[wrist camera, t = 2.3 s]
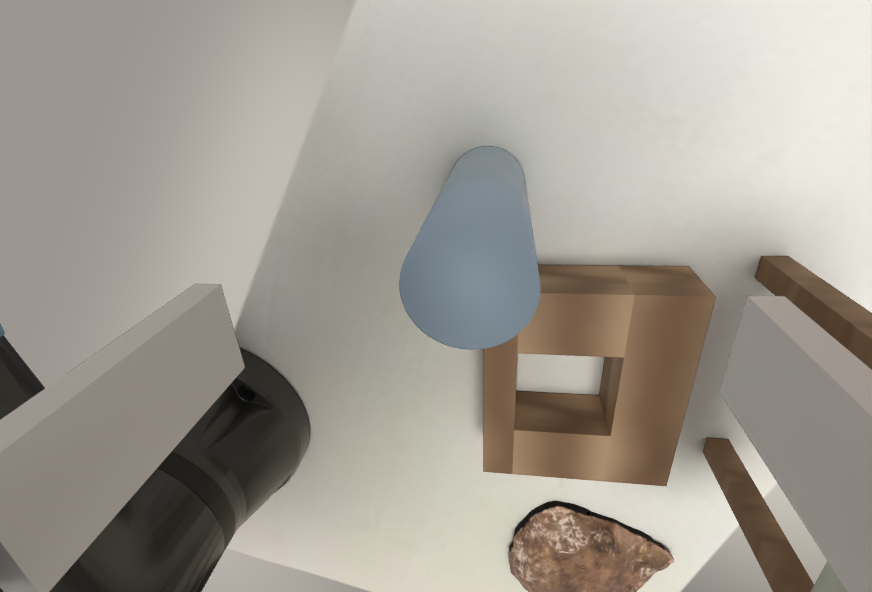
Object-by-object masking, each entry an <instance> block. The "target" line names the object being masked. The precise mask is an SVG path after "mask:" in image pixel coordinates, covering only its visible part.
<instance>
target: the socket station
mask: <svg viewBox="0 0 872 592" xmlns="http://www.w3.org/2000/svg"><path fill="white" fill-rule="evenodd" d="M538 271H539V278H540V299H539V303H538V306H537V309H536V311H535V314H534V316H533V317H532V319H531V320H530V322H529V323H528V324H527V326H526V327H525V328H524V329H523V330H522V331H521V332H520V333H519V334H517V335H516V336H515V337H513V338H512V339H510V340H508V341H506V342H504V343H502V344H500V345H497V346H494V347H490V348H485V349H483V472H494V473H506V474H519V475H532V476H544V477H557V478H569V479H582V480H595V481H607V482H620V483H632V484H645V485H657V486H667V482H668V478H669V474H670V470H671V466H672V463H673V459H674V455H675V451H676V447H677V444H678V440H679V436H680V432H681V428H682V424H683V421H684V417H685V413H686V409H687V405H688V402H689V398H690V394H691V390H692V386H693V382H694V379H695V375H696V371H697V367H698V363H699V360H700V356H701V352H702V348H703V344H704V341H705V337H706V333H707V329H708V325H709V321H710V318H711V314H712V310H713V306H714V302H715V299H716V296H715V295H714V294H713V293H712V292H711V291H710V290H709V288H708V287H707V286H706V285H705V284H704V283H703V282H702V281H701V280H700V278H699V277H698V276H697V275H696V274H695V273H694V272H693V271H692V270H691V268H690V267H689V266H616V265H538ZM755 278H756V279H757V280H758V281H759V282H760V283H761V284H762V285H764V286H765V287H766V288H767V289H768V290H769V291H771V292H772V293H773V294H774V295H775V296H785V297H786V298H787V299H788V300H789V301H791V302H792V303H793V304H794V305H795V306H797V307H798V308H799V309H800V310H801V311H802V312H804V313H805V314H806V315H807V316H808V317H810V318H811V319H812V320H813V321H814V322H815V323H817V324H818V325H819V326H820V327H821V328H823V329H824V330H825V331H826V332H827V333H829V334H830V335H831V336H832V337H833V338H834V339H836V340H837V341H838V342H839V343H840V344H842V345H843V346H844V347H845V348H846V349H848V350H849V351H850V352H851V353H852V354H853V355H855V356H856V357H857V358H858V359H859V360H861V361H862V362H863V363H864V364H865V365H867V366H868V367H869V368H870V369H871V370H872V313H871V312H869V311H868V310H866V309H865V308H864V307H862V306H861V305H859V304H858V303H856V302H855V301H853V300H852V299H850V298H849V297H847V296H846V295H844V294H843V293H842V292H840V291H839V290H837V289H836V288H834V287H833V286H831V285H830V284H828V283H827V282H825V281H824V280H822V279H821V278H820V277H818V276H817V275H815V274H814V273H812V272H811V271H809V270H808V269H806V268H805V267H803V266H802V265H801V264H799V263H798V262H796V261H795V260H793V259H792V258H790V257H789V256H762V257H761V260H760V263H759V267H758V270H757V273H756V277H755ZM517 353H524V354H549V355H574V356H598V357H605V360H604V367H603V374H602V380H601V387H600V394H599V395H581V394H562V393H543V392H524V391H516V375H517ZM703 453H704V455H705V457H706V459H707V461H708V463H709V465H710V467H711V469H712V471H713V473H714V475H715V477H716V479H717V481H718V483H719V485H720V487H721V489H722V491H723V493H724V495H725V497H726V499H727V501H728V503H729V505H730V507H731V509H732V511H733V513H734V515H735V517H736V519H737V521H738V523H739V525H740V527H741V529H742V531H743V533H744V535H745V537H746V539H747V541H748V543H749V545H750V547H751V548H752V551H753V553H754V555H755V556H756V559H757V561H758V563H759V565H760V567H761V568H762V570H763V572H764V575H765V577H766V579H767V581H768V583H769V585H770V587H771V588H772V590H773V592H847V590H846V589H845V587H844V586H843V584H842V583H841V581H840V579H839V578H838V576H837V575H836V573H835V572H834V570H833V569H832V567H831V565H830V564H829V562H828V561H827V563H826V565H825V566H824V568H823V570H822V572H821V574H820V575H819V577H818V579H817V581H816V583H815V584H813V582H812V580H811V579H810V577H809V576H808V574H807V572H806V570H805V569H804V567H803V565H802V563H801V562H800V560H799V559H798V557H797V555H796V553H795V552H794V550H793V548H792V546H791V545H790V543H789V542H788V540H787V538H786V537H785V535H784V533H783V531H782V529H781V528H780V526H779V524H778V523H777V521H776V519H775V518H774V516H773V514H772V512H771V511H770V509H769V507H768V506H767V504H766V502H765V501H764V499H763V497H762V495H761V494H760V492H759V490H758V489H757V487H756V485H755V484H754V482H753V480H752V479H751V477H750V475H749V473H748V472H747V470H746V468H745V467H744V465H743V463H742V462H741V460H740V458H739V456H738V455H737V453H736V451H735V450H734V448H733V446H732V445H731V443H730V441H729V439H717V438H707V440H706V444H705V447H704V450H703Z"/></svg>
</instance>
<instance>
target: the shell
mask: <svg viewBox="0 0 872 592" xmlns="http://www.w3.org/2000/svg"><path fill="white" fill-rule="evenodd" d="M588 511H589V510H588V509H586V508H583V507H580V506H578V505H575V504H571V503H565V502H560V501H552V502H548V503H545V504H543V505H540V506H539V507H537V508H535V509H534V510H532V511H531V512H530V513H529V514H528V515H527V517H525V518H524V520H523V521H522V522H521V523H520V524H519V525H518V526H517V527H516V529H515V534H514V536H513V537H514V542H513V543H512V545H511V546H510V550H509V564H510V569H511V573H512V574H513V575H514V576H515V577H516V578H517V579H518V580H519V582H520V583H521V584H522V586H523V587H524V588H525V589H526V590H527V591H529V592H637V590H638V589H639V588H641V587H642V586H643V585H644V584H645V583H646V582H647V581H648V580H649V579H650V578H651V577H652V575H653V574H654V573H655V572H657V571H660V570H663V569H665V568H667V567H668V566H669V565H670V564H671V563H673V562H674V559H673V556H672V555H671V554H670V553H669V552H668V551H667V550H666V549H665V548H664V547H663V546H662V545H660V544H655V543H654V541H653V539H652V538H651V537H650V536H649V535H647V534H645V533H644V532H642V531H639V530H637V529H634V528H632V527H629V526H627V525H625V524H623V523H620V522H619V521H617V520H615V519H612V518H609V517H606V516H603V515H600V514H597V513H594V512H591V511H589V515H588V516H587V512H588Z"/></svg>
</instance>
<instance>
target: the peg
mask: <svg viewBox="0 0 872 592" xmlns="http://www.w3.org/2000/svg"><path fill="white" fill-rule="evenodd" d="M399 286H400V295H401V299H402V302H403V305H404V308H405V310H406V312H407V314H408V315H409V317H410V318H411V320H412V321H413V322H414V323H415V325H416V326H417V327H418V328H419V329H420V330H421V331H422V332H424V333H425V334H426V335H428V336H429V337H431V338H432V339H434V340H436V341H438V342H440V343H442V344H445V345H448V346H451V347H455V348H460V349H469V350H470V349H485V348H490V347H494V346H497V345H500V344H502V343H504V342H506V341H508V340H510V339H512V338H513V337H515V336H516V335H517V334H519V333H520V332H521V331H522V330H523V329H524V328H525V327H526V326H527V324H528V323H529V322H530V320H531V319H532V317H533V316H534V314H535V311H536V309H537V306H538V303H539V299H540V278H539V271H538V264H537V258H536V251H535V244H534V237H533V230H532V224H531V217H530V210H529V203H528V197H527V190H526V183H525V177H524V172H523V169H522V167H521V165H520V163H519V162H518V160H517V159H516V158H515V157H514V156H513V155H512V154H511V153H509V152H508V151H506V150H504V149H502V148H499V147H494V146H482V147H477V148H475V149H472V150H470V151H468V152H467V153H465V154H464V155H463V156H462V157H461V158H460V159H459V160H458V161H457V162H456V164H455V166H454V167H453V169H452V171H451V173H450V175H449V177H448V179H447V181H446V183H445V184H444V186H443V188H442V190H441V192H440V194H439V196H438V198H437V200H436V201H435V203H434V205H433V207H432V209H431V211H430V213H429V215H428V217H427V218H426V220H425V222H424V224H423V226H422V228H421V230H420V232H419V233H418V235H417V237H416V239H415V241H414V243H413V245H412V247H411V249H410V250H409V252H408V254H407V256H406V258H405V260H404V263H403V265H402V269H401V272H400V280H399Z"/></svg>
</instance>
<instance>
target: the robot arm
mask: <svg viewBox="0 0 872 592" xmlns="http://www.w3.org/2000/svg"><path fill="white" fill-rule="evenodd" d="M4 334H5V333H4V330H3V328H2V327H1V324H0V592H201V591H202V589H203V588H204V586H205V584H206V582H207V581H208V579H209V577H210V575H211V573H212V572H213V570H214V568H215V566H216V565H217V563H218V561H219V559H220V557H221V556H222V554H223V552H224V551H225V549H226V547H227V546H228V544H229V542H230V541H231V539H232V537H233V535H234V534H235V532H236V530H237V529H238V528H239V527H240V526H241V525H242V524H243V523H244V522H245V521H246V520H247V519H248V518H249V517H250V516H251V515H252V514H253V513H254V512H255V511H256V510H257V509H259V508H260V507H261V506H262V505H263V504H264V503H265V502H266V501H267V500H268V499H269V498H270V497H271V496H272V494H273V493H275V492H276V491H277V490H279V489H280V488H281V487H282V486H284V485H285V484H286V483H287V482H288V481H289V480H290V478H291V477H292V476H293V474H294V473H295V471H296V469H297V468H298V466H299V464H300V462H301V460H302V458H303V456H304V454H305V452H306V450H307V447H308V444H309V438H310V428H309V422H308V418H307V414H306V411H305V409H304V407H303V405H302V403H301V401H300V399H299V397H298V396H297V394H296V393H295V391H294V390H293V389H292V387H291V386H290V385H289V384H288V383H287V382H286V381H285V379H284V378H283V377H282V376H280V375H279V374H278V373H277V372H276V371H275V370H274V369H273V368H271V367H270V366H269V365H267V364H266V363H264V362H263V361H261V360H260V359H258V358H257V357H255V356H253V355H251V354H249V353H248V352H246V351H243V350H241V349H239V345H238V342H237V338H236V335H235V331H234V328H233V325H232V321H231V318H230V314H229V311H228V308H227V304H226V300H225V297H224V293H223V290H222V286H221V284H194V285H193V286H191V287H190V288H189V289H187V290H186V291H184V292H183V293H181V294H180V295H178V296H177V297H176V298H174V299H173V300H171V301H170V302H169V303H167V304H166V305H164V306H163V307H161V308H160V309H158V310H157V311H156V312H154V313H153V314H151V315H150V316H149V317H147V318H146V319H144V320H143V321H141V322H140V323H138V324H137V325H135V326H134V327H133V328H131V329H130V330H128V331H127V332H125V333H124V334H123V335H121V336H120V337H118V338H117V339H115V340H114V341H113V342H111V343H110V344H108V345H107V346H105V347H104V348H103V349H101V350H100V351H98V352H97V353H96V354H94V355H93V356H91V357H90V358H88V359H87V360H85V361H84V362H82V363H81V364H80V365H78V366H77V367H75V368H74V369H72V370H71V371H70V372H68V373H67V374H65V375H64V376H63V377H61V378H60V379H58V380H57V381H56V382H54V383H52V384H51V385H50V386H48V387H47V388H45V387H44V386H43V385H42V384H41V382H40V381H39V380H38V379H37V377H36V376H35V375H34V373H33V372H32V371H31V370H30V368H29V367H28V366H27V365H26V363H25V362H24V361H23V360H22V358H21V357H20V356H19V354H18V353H17V352H16V351H15V349H14V348H13V347H12V346H11V344H10V343H9V342H8V340H7V339H6V338H5V337H4ZM719 392H720V394H721V395H722V397H723V399H724V400H725V402H726V403H727V405H728V406H729V408H730V409H731V411H732V413H733V414H734V416H735V417H736V419H737V420H738V422H739V424H740V425H741V427H742V428H743V430H744V431H745V433H746V434H747V436H748V438H749V439H750V441H751V442H752V444H753V445H754V447H755V448H756V450H757V452H758V453H759V455H760V456H761V458H762V459H763V461H764V463H765V464H766V466H767V467H768V469H769V470H770V472H771V473H772V475H773V477H774V478H775V480H776V481H777V483H778V484H779V486H780V487H781V489H782V491H783V492H784V494H785V495H786V497H787V498H788V500H789V501H790V503H791V505H792V506H793V508H794V509H795V511H796V512H797V514H798V515H799V517H800V519H801V520H802V522H803V523H804V525H805V526H806V528H807V529H808V531H809V532H810V534H811V536H812V537H813V539H814V540H815V542H816V543H817V545H818V546H819V548H820V550H821V551H822V553H823V554H824V556H825V558H826V559H827V561H828V562H829V564H830V565H831V567H832V569H833V570H834V572H835V573H836V575H837V576H838V578H839V579H840V581H841V583H842V584H843V586H844V587H845V589H846V590H847V592H872V370H871V369H870V368H869V367H868V366H867V365H865V364H864V363H863V362H862V361H861V360H859V359H858V358H857V357H856V356H855V355H853V354H852V353H851V352H850V351H849V350H848V349H846V348H845V347H844V346H843V345H842V344H840V343H839V342H838V341H837V340H836V339H834V338H833V337H832V336H831V335H830V334H829V333H827V332H826V331H825V330H824V329H823V328H821V327H820V326H819V325H818V324H817V323H815V322H814V321H813V320H812V319H811V318H810V317H808V316H807V315H806V314H805V313H804V312H802V311H801V310H800V309H799V308H798V307H797V306H795V305H794V304H793V303H792V302H791V301H789V300H788V299H787V298H786V297H785V296H747V299H746V303H745V306H744V309H743V313H742V316H741V319H740V323H739V326H738V329H737V333H736V336H735V339H734V343H733V346H732V350H731V353H730V356H729V360H728V363H727V366H726V370H725V373H724V376H723V380H722V383H721V387H720V390H719Z"/></svg>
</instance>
